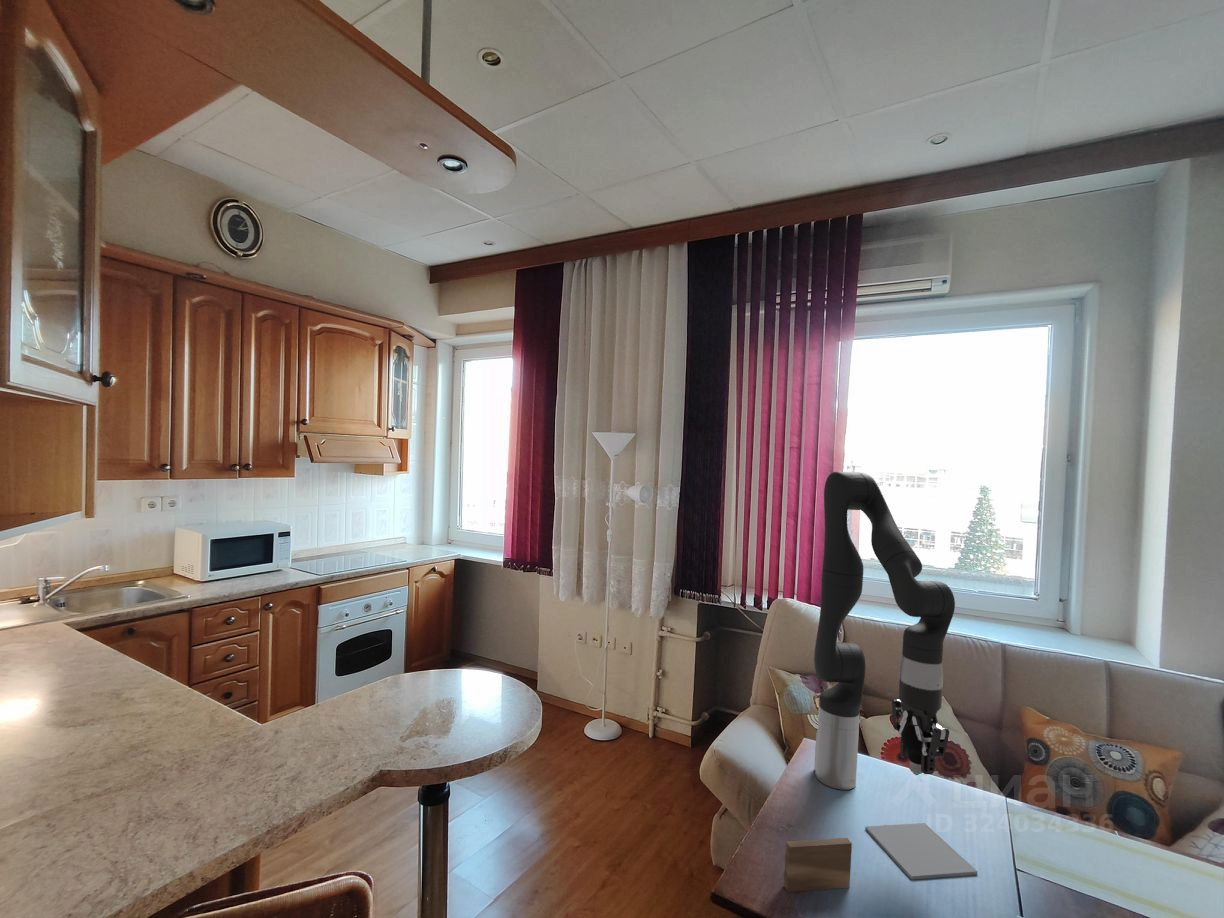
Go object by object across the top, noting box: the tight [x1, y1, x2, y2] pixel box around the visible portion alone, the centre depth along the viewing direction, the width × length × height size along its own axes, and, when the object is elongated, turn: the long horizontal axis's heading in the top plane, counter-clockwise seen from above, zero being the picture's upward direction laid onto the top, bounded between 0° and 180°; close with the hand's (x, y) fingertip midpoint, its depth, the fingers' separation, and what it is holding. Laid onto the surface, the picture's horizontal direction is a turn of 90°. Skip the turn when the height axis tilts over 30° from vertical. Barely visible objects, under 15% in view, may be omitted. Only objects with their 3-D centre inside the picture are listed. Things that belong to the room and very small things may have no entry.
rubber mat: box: [864, 822, 978, 880], centre depth 111 cm, size 14×14×1 cm
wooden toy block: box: [783, 837, 853, 893], centre depth 100 cm, size 2×12×8 cm, turn 99°
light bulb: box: [900, 724, 931, 776], centre depth 111 cm, size 6×6×10 cm
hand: (916, 764), depth 111 cm, fingers closed on light bulb, 5 cm apart
